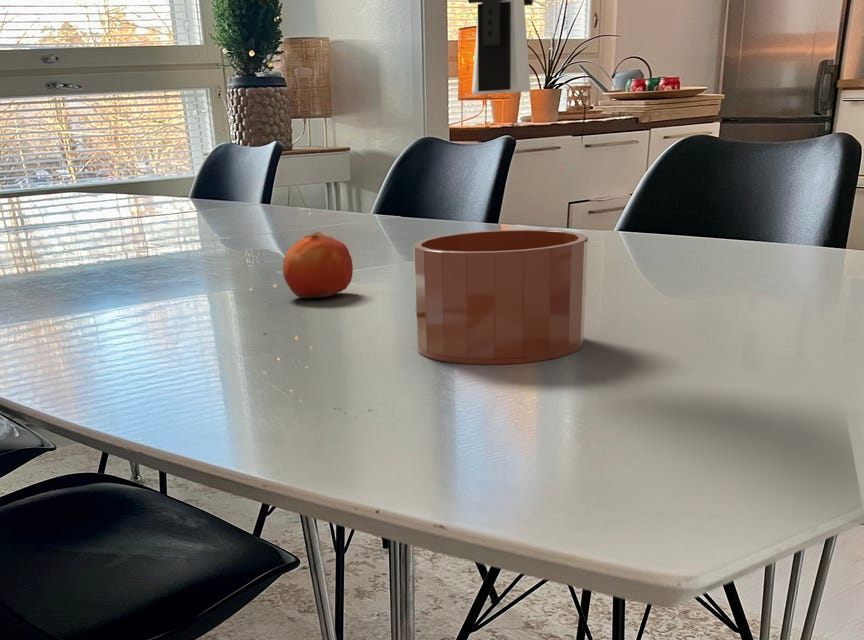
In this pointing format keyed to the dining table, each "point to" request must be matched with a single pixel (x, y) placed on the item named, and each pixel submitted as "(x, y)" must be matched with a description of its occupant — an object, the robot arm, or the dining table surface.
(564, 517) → the dining table surface
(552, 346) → the crock
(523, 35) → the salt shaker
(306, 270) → the tomato
